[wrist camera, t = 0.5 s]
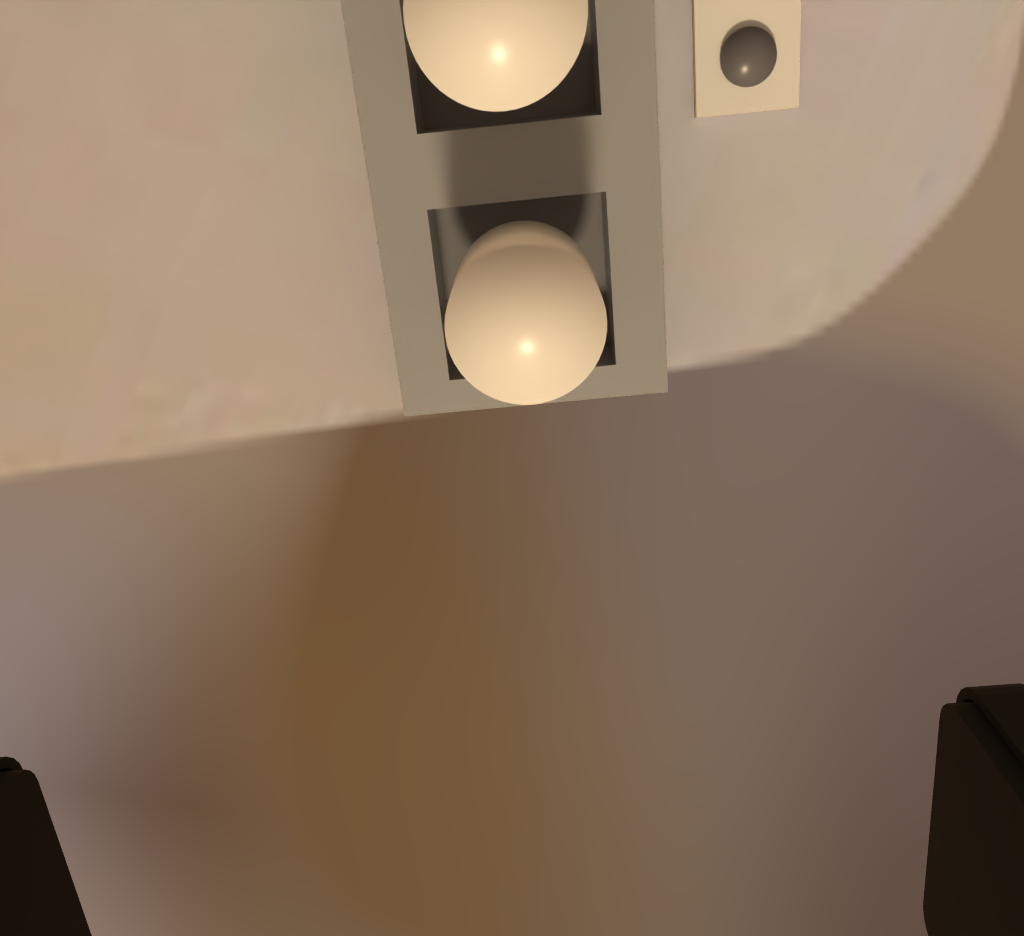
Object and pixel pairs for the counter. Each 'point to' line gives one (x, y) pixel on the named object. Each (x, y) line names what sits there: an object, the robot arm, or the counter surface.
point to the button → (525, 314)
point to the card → (745, 55)
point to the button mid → (495, 47)
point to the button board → (515, 192)
